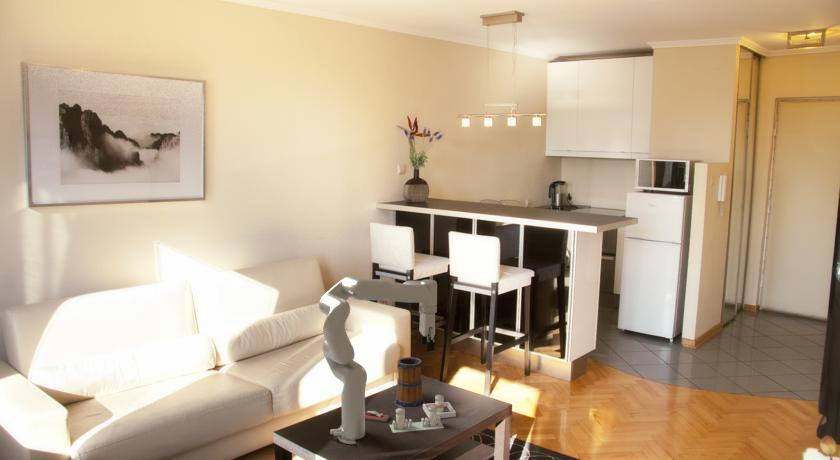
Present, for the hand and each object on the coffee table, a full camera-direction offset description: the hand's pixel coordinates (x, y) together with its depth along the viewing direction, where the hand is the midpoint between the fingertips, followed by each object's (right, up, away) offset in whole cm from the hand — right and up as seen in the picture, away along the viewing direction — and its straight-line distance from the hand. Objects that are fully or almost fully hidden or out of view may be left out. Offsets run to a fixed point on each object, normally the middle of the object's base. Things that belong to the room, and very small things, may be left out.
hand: (427, 347), depth 287 cm
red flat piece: (-25, -33, +3) cm, 41 cm away
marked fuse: (+5, -31, +7) cm, 32 cm away
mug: (-9, -30, +25) cm, 39 cm away
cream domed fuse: (-11, -32, -9) cm, 35 cm away
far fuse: (+2, -32, -6) cm, 32 cm away
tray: (+5, -32, +7) cm, 33 cm away
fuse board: (-5, -34, -7) cm, 35 cm away
